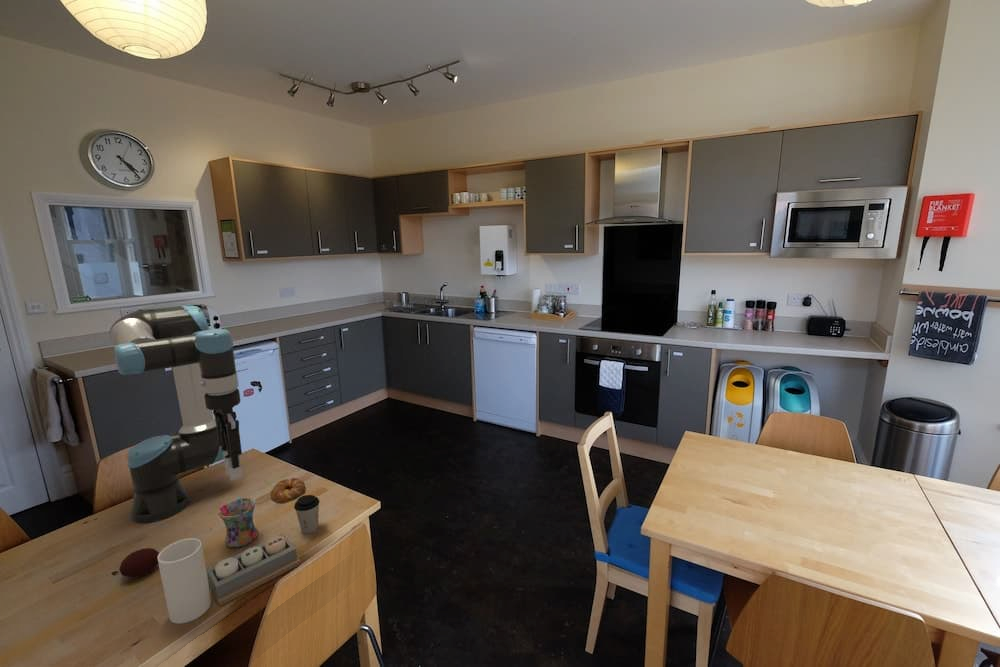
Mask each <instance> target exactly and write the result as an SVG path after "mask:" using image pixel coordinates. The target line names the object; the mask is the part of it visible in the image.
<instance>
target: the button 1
mask: <svg viewBox="0 0 1000 667" xmlns="http://www.w3.org/2000/svg"><path fill="white" fill-rule="evenodd" d="M217 563H218V564H217ZM217 563H216V564H217V565H216V567H215V571H216V577H217V581H220V580H222V579H224V578H226V577H229V576H231V575H233V574H235V573H237V572H239V568H238V561H237V559H236V558H231V557H229V558H224V559H222V560H221V561H219V562H217Z"/></svg>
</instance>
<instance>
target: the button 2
mask: <svg viewBox="0 0 1000 667" xmlns="http://www.w3.org/2000/svg"><path fill="white" fill-rule="evenodd" d="M242 552H243V553H242ZM242 552H241V553H242V554H241V560H242V566H243V568H244V569H245V568H247V567H249V566H251V565H254V564H256V563H258V562H260V561H262V560H263V553H262V548H261V547H255V546H252V547H249V548H247V549H245V550H243V551H242Z"/></svg>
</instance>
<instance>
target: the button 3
mask: <svg viewBox="0 0 1000 667" xmlns="http://www.w3.org/2000/svg"><path fill="white" fill-rule="evenodd" d="M266 541H267V542H266ZM266 541H265V542H266V543H265V548H266V554H267V555H268V557H270V556H272V555H274V554H276V553H279V552H281V551H283V550H285V549H286V543H285V538H284V537H283V536H279V535H277V536H273V537H271V538H269V539H268V540H266Z"/></svg>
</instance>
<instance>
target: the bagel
mask: <svg viewBox="0 0 1000 667" xmlns="http://www.w3.org/2000/svg"><path fill="white" fill-rule="evenodd" d="M305 486H306V485H305V482H304V481H303V480H301V479H299V478H296V477H292V478H290V479H287V478H285V479H283V480H280V481H277V483H276V484H275V485H274V486H273V488H272V489H271V491H270V498H271V499H272V500H273V501H275V502H277V504H284V503H288V502H290V501H291V500H294V499H298V497H299V498H300V495H301V494H304V492H305V490H306V488H305Z"/></svg>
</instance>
